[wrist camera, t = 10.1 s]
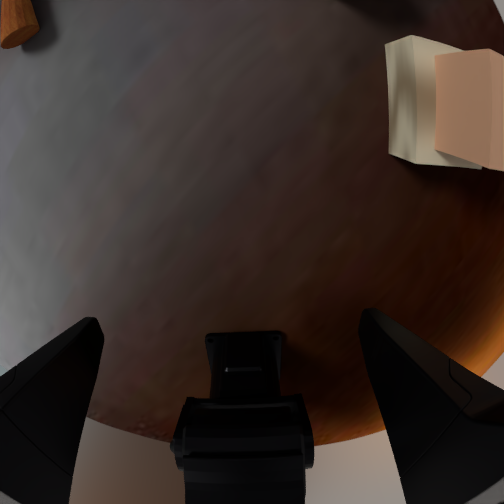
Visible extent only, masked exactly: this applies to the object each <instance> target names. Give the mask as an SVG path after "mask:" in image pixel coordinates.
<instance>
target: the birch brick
mask: <svg viewBox="0 0 504 504" xmlns="http://www.w3.org/2000/svg"><path fill="white" fill-rule="evenodd" d="M385 50H386V61H387V75H388V95H389V154H391V155H394V156H397V157H400V158H402V159H405V160H407V161H410V162H412V163H415V164H428V165H442V166H454V167H465V168H474V169H482V166H481V165H478V164H476V163H473V162H470V161H468V160H465V159H462V158H459V157H456V156H453V155H450V154H447V153H444V152H441V151H438V150H435V149H434V147H435V129H436V74H435V55H441V54H447V53H454V52H462V51H463V50H460V49H457V48H455V47H452V46H449V45H445V44H442V43H439V42H436V41H432V40H429V39H425V38H421V37H418V36H414V35H410V36H407V37H404V38H401V39H399V40H396V41H393V42H391V43H388V44H385Z"/></svg>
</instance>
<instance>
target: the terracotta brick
mask: <svg viewBox="0 0 504 504" xmlns="http://www.w3.org/2000/svg"><path fill="white" fill-rule="evenodd" d="M435 74H436V129H435V147H434V149H435V150H438V151H441V152H444V153H447V154H450V155H453V156H456V157H459V158H462V159H465V160H468V161H470V162H473V163H476V164H478V165H481V166H484V167H486V168H489V169H495V170H500V171H504V56H502V55H500V54H498V53H497V52H495V51H493V50H491V49H481V50H471V51H462V52H454V53H447V54H441V55H435Z"/></svg>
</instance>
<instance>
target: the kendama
mask: <svg viewBox="0 0 504 504" xmlns="http://www.w3.org/2000/svg"><path fill="white" fill-rule="evenodd" d="M39 28H40V27H39V24H38V22H37V19H36V16H35V12H34V9H33V6H32V3H31V0H2V5H1V47H2V48H3V49H9V48H13V47H16V46H19V45H21V44H23V43H24V42H26V41H27V40H28V39H29V38H31V37H32V36H33V35H35V34H36V33H37V32H39Z"/></svg>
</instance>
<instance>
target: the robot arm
mask: <svg viewBox="0 0 504 504" xmlns="http://www.w3.org/2000/svg"><path fill="white" fill-rule="evenodd" d="M358 333H359V338H360V342H361V346H362V351H363V355H364V360H365V364H366V368H367V372H368V376H369V379H370V382H371V384H372V387H373V390H374V393H375V396H376V399H377V402H378V405H379V409H380V412H381V415H382V418H383V421H384V424H385V428H386V430H387V434H388V436H389V441H390V444H391V447H392V451H393V454H394V458H395V462H396V465H397V468H398V472H399V476H400V477H401V478H400V481H401V484H402V488H403V492H404V496H405V500H406V504H504V390H503V389H501V388H499V387H497V386H495V385H494V384H492V383H490V382H488V381H487V380H485V379H483V378H481V377H479V376H478V375H476V374H474V373H473V372H471V371H469V370H468V369H466V368H465V367H463V366H462V365H460V364H458V363H457V362H456V361H454V360H453V359H451V358H449V357H448V356H447V355H445V354H444V353H442V352H441V351H439V350H438V349H436V348H435V347H433V346H432V345H430V344H429V343H427V342H426V341H424V340H423V339H421V338H420V337H418V336H417V335H415V334H414V333H412V332H411V331H409V330H408V329H406V328H405V327H403V326H402V325H400V324H399V323H397V322H396V321H394V320H393V319H391V318H390V317H388V316H387V315H385V314H384V313H382V312H381V311H379V310H378V309H376V308H367V309H364V310H363V311H362V315H361V319H360V324H359V328H358ZM274 336H277V337H274ZM210 339H212V340H210ZM281 343H282V337H281V333H280V332H279V331H264V332H241V333H209V334H207V335H206V336H205V344H206V349H207V354H208V359H209V364H210V369H211V374H212V376H211V387H210V399H209V398H194V397H187V399H186V402H185V405H183V408H182V411H181V414H180V417H179V420H178V423H177V426H176V429H175V432H174V435H173V440H172V441H171V443H170V449H171V451H172V452H173V453H174V454H175V460H176V464H177V467H178V469H179V470H180V471H184V480H185V481H184V482H185V504H305V495H306V487H305V486H306V481H305V469H308V468H312V467H313V463H314V440H313V433H312V428H311V424H310V421H309V418H308V414H307V411H306V407H305V404H304V401H303V397H302V394H294V395H291V396H281V394H280V385H279V379H280V367H281ZM103 345H104V334H103V332H102V330H101V327H100V325H99V322H98V320H97V319H96V318H95V317H85V318H83V319H82V320H80V321H79V322H77V323H76V324H74V325H73V326H71V327H70V328H68V329H67V330H66V331H64V332H63V333H61V334H60V335H58V336H57V337H55V338H54V339H53V340H51V341H50V342H48V343H47V344H45V345H44V346H42V347H41V348H40V349H38V350H37V351H35V352H34V353H33V354H31V355H30V356H28V357H27V358H26V359H24V360H23V361H21V362H20V363H19V364H17V366H14V367H13V368H12V369H10V370H9V371H7V372H6V373H5V374H3V375H2V376H0V504H69V497H70V491H71V485H72V479H73V477H72V476H73V473H74V467H75V462H76V457H77V453H78V448H79V443H80V439H81V434H82V430H83V426H84V422H85V418H86V414H87V411H88V407H89V403H90V400H91V396H92V392H93V389H94V386H95V382H96V378H97V374H98V369H99V364H100V359H101V354H102V349H103Z"/></svg>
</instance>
